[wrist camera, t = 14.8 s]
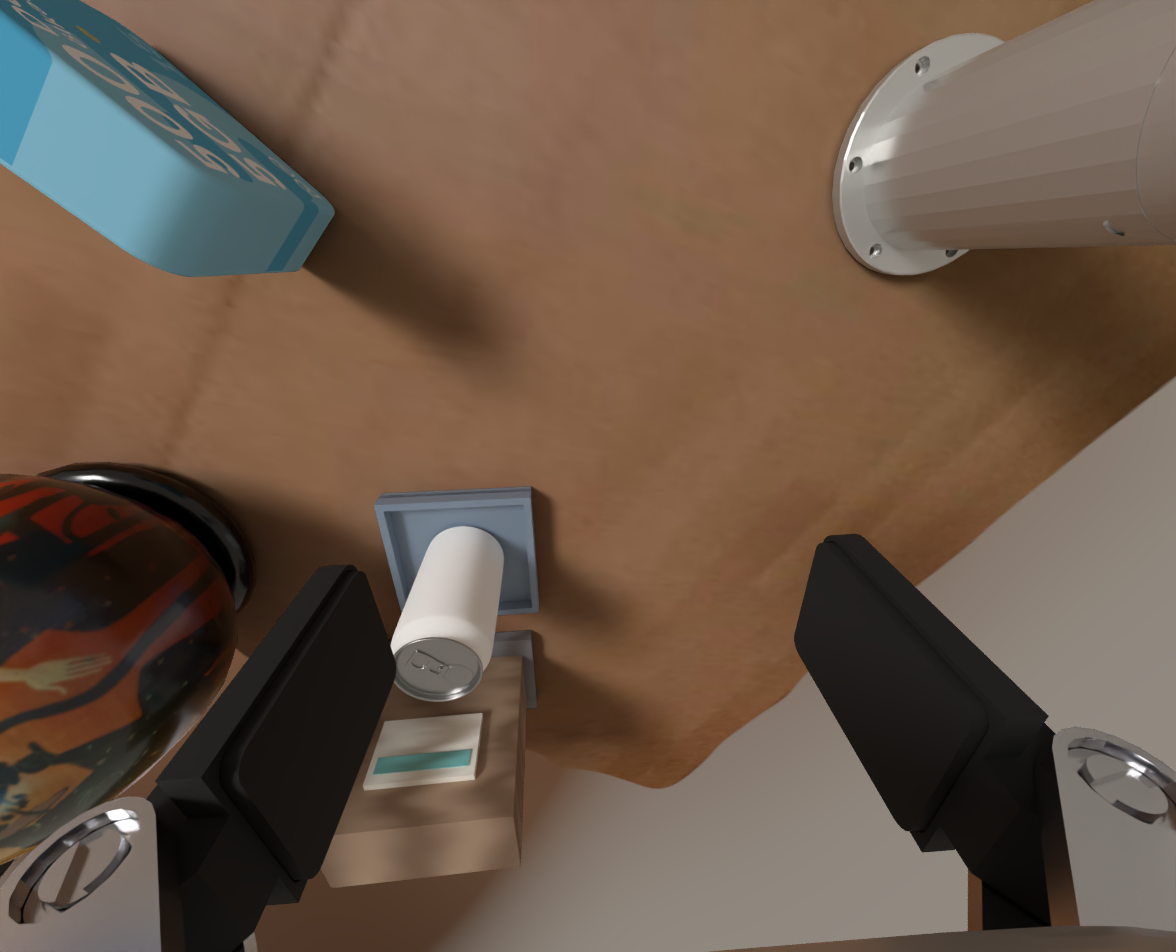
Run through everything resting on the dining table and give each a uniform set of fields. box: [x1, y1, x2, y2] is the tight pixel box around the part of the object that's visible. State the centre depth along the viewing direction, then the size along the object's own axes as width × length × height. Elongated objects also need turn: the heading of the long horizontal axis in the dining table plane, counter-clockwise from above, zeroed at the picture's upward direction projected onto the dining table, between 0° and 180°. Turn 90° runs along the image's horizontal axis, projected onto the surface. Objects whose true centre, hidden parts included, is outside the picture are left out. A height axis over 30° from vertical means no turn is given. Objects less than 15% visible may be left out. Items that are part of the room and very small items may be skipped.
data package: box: [0, 0, 335, 277], centre depth 20 cm, size 12×4×12 cm, turn 46°
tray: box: [374, 486, 539, 615], centre depth 38 cm, size 12×12×2 cm
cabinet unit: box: [321, 630, 537, 888], centre depth 38 cm, size 16×10×15 cm, turn 90°
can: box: [391, 526, 504, 702], centre depth 33 cm, size 6×6×12 cm
